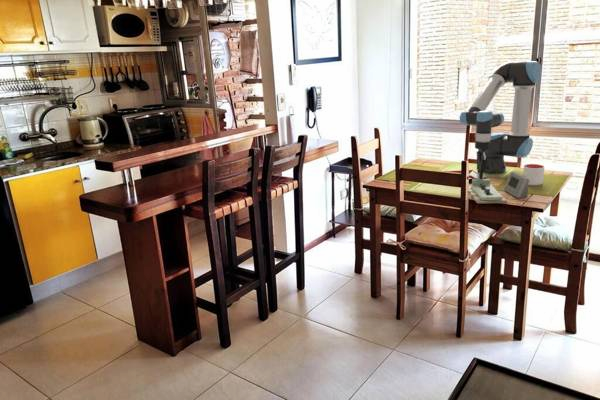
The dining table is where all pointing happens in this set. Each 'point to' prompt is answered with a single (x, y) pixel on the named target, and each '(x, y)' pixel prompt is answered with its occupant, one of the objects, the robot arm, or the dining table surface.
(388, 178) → the dining table surface
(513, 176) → the digital clock
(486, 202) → the board
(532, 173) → the cup
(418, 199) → the dining table surface
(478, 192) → the panel
